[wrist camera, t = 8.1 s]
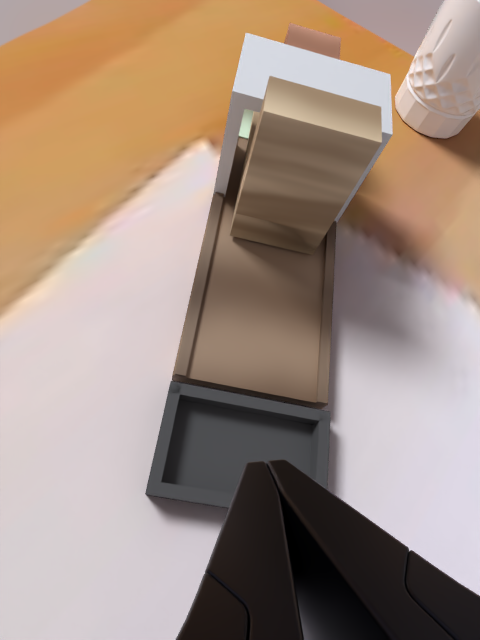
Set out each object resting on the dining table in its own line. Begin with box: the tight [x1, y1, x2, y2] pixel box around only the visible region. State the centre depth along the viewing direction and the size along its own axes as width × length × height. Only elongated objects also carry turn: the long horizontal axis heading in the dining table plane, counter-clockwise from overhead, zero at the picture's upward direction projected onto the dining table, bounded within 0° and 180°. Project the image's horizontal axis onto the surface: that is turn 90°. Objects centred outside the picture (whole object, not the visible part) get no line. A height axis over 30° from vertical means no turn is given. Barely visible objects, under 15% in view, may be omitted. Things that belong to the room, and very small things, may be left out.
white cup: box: [395, 0, 480, 139], centre depth 34 cm, size 8×8×10 cm
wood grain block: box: [230, 23, 382, 255], centre depth 26 cm, size 14×6×9 cm, turn 172°
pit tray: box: [145, 381, 330, 508], centre depth 21 cm, size 6×9×2 cm, turn 82°
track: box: [172, 109, 336, 409], centre depth 28 cm, size 24×9×1 cm, turn 172°
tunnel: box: [214, 33, 393, 224], centre depth 26 cm, size 5×9×8 cm, turn 82°
